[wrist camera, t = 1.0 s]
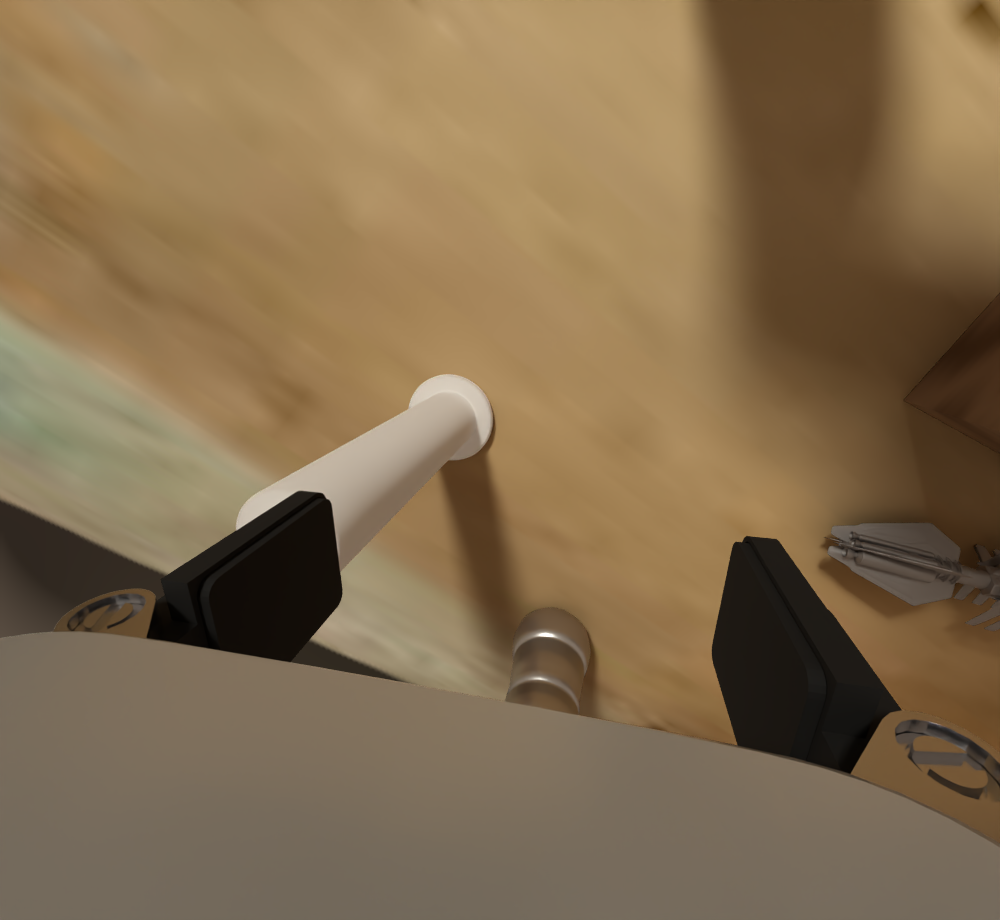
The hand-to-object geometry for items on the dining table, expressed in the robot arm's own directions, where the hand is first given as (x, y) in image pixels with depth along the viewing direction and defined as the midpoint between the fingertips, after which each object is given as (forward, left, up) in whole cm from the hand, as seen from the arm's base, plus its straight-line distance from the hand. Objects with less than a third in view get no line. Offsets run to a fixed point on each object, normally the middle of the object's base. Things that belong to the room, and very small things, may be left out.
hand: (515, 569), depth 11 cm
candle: (+7, -7, -27) cm, 29 cm away
